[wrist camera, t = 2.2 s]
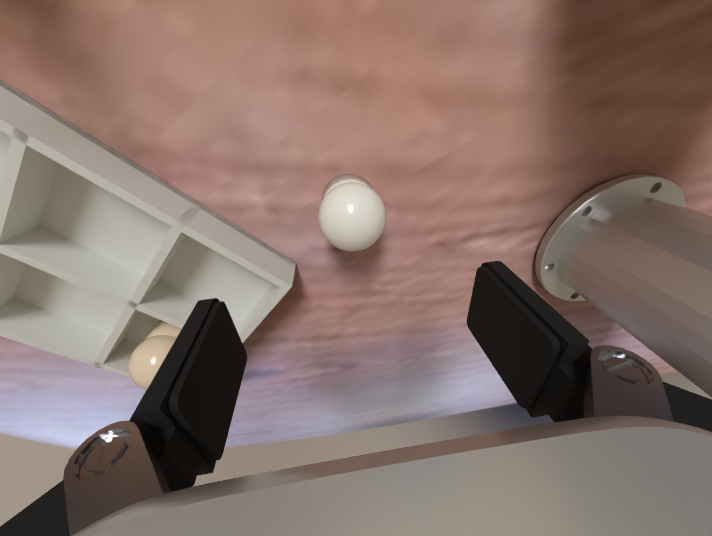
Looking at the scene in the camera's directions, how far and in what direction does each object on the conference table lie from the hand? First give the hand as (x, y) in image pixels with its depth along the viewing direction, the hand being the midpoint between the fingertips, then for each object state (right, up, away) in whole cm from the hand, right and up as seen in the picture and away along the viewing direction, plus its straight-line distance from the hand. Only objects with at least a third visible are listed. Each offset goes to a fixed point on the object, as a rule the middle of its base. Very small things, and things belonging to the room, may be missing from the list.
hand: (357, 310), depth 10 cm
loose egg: (-1, +7, +11) cm, 13 cm away
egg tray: (-20, +3, +11) cm, 23 cm away
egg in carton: (-17, -4, +16) cm, 23 cm away
